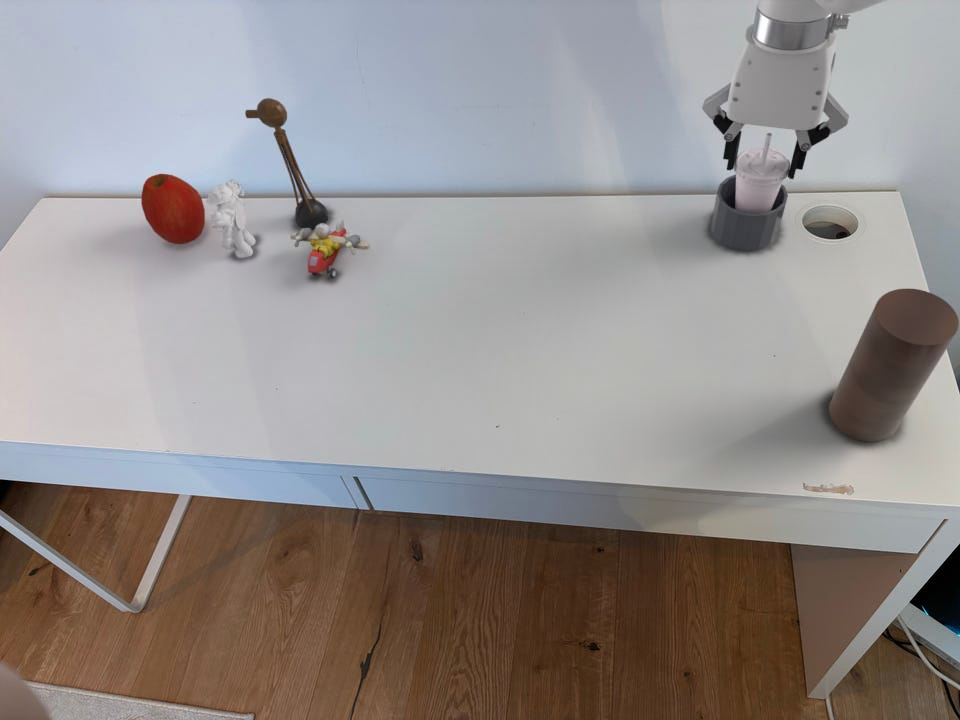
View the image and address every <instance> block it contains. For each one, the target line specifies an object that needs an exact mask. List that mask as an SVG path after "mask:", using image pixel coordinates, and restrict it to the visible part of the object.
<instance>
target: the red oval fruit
mask: <svg viewBox="0 0 960 720" xmlns="http://www.w3.org/2000/svg"><path fill="white" fill-rule="evenodd" d="M140 201H141V208H142V211H143V214H144V217H145V220H146V222H147V224H149V226H150V227H151V229H152V230H153V232H154V233H155V234H156V235H157V236H159V237H160V239H161V238H162V239H163V240H164V241H166V242H167V243H171V244H174V245H184V244H188V243H191V242H193V241H195V240H196V239H198V238H199V237H200V236H201V235H202V233H203V231H204V228H205V223H206V218H205V217H206V211H205V210H206V209H205V205H204V202H203V199H202V195H200V193H199V191H198V189H196V188H195V187H194V186H192V185H191V184H190V183H189V182H187V181H185V180H184V179H182V178H180V177H178V176H176V175H173V174H169V173H158V174H154V175H151V176H149V177H148V178H146V180H145V181H144V183H143V186H142V190H141V200H140Z"/></svg>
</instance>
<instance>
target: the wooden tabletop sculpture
mask: <svg viewBox="0 0 960 720" xmlns="http://www.w3.org/2000/svg"><path fill="white" fill-rule="evenodd" d="M244 114H245V117H246V119H259V121H260V122H261V123H262V124H264V125H265V126H266V127H268V128H272V129H273V128H274V130H275V131H273V136H274V138H275V141H276V143H277V146H278V149H279V151H280V153H281V156H282V159H283V162H284V165H285V167H286V170H287V172H288V175H289V176H288V177H289V178H290V182H291V185H292V188H293V192H294V196H295V197H294V198H295V202H296V207H295V211H294V213H295V215H294V218H295V223H296V226H297V227H299V228H300V230H301V229H302V228H310V229H311V231H315V227H316V226H317V225H318V224H321V223H323V224H326V223H327V222H328V221H329V212H328V210H327V208H326V206H325V205H324V204H323V203H322V202H320V201H319V200H318V199H316V197H315V196H314V195H313V193H312V191H311V190H310V187H309V185H308V184H307V182H306V180H305V178H304V176H303V174H302V172H301V169H300V166H299V164H298V162H297V159H296V157H295V154H294V152H293V149H292V147H291V144H290V141H289V139H288V136H287V133H286V130H285V129H284V128H282V127H283V126H284V125H285V124H286V122H287V120H288V111H287V109H286V107H285V106H284V105H283V104H282V103H281V102H280V100H277V99H275V98H272V97H266V98H263V99H262V100H260V101H259V102H258V104H257V106H256V109H246V110H245V112H244ZM304 187H305V188H304ZM305 189H306V190H305ZM297 190H298V191H297ZM306 191H307V192H308V194H309V196H310V197H311V198H309V197H308V195H307V193H306ZM298 193H299V195H300V198H301V200H300V201H299V196H298Z"/></svg>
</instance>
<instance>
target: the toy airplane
mask: <svg viewBox="0 0 960 720" xmlns="http://www.w3.org/2000/svg"><path fill="white" fill-rule="evenodd" d="M344 220H345V219H343V218H339V219H338V220H337V222H336V226H335V230H331V229H330V226H329V225H328V224H326V223H325V224H323V223H321V224H318V225H317V226H316V227H315V230H314V233H312V230H311V229H310V228H302V229H301V228H300V230H298V231H296V232H293V233H290V234H289V236H290V239H291V240H293V241H295V242H294V247H295V248H298V247H299V245H300V242H307V243H309V244H310V246H311V247H312V249H311V251H310V253H309V256H308V263H307V271H308V273H310V274H312V275H313V276H318V274H320V275H326V276H329V278H331V279H334V278H336V276H337V269H336V268H335V267H331V266H332V265H333V264H334V263H335V261H336V259H337V256H338V254H339V253H340V250H341V248H348V249H349V250H350V253H351V255H352V256H355V255H356V250H355V249H357V250H364V251H365V250H369V249H370V248H371V244H370V243H371V242H369V241H366V240H361V236H360V235H359V234H357V233H351V232H347V229H346V228H345V221H344Z"/></svg>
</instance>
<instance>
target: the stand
mask: <svg viewBox="0 0 960 720" xmlns="http://www.w3.org/2000/svg"><path fill="white" fill-rule="evenodd" d="M875 303H876V304H875V306H874V308H873V310H872V312H871V314H870V316H869V318H868V320H867V323H866V324H865V327H864V329H863V331H862V333H861V335H860V337H859V340H858V341H857V344H856V346H855V348H854V350H853V352H852V355H851V357H850V359H849V361H848V363H847V365H846V368H845V369H844V372H843V374H842V376H841V378H840V381H839V383H838V385H837V387H836V389H835V391H834V393H833V396H832V398H831V400H830V402H829V406H828V415H829V418H830V419H831V421H832V423H833V425H834V426H835V427H836V428H837V429H838V430H839V431H840V432H842V433H843V434H845V435H846V436H848V437H849V438H852V439H855V440H858V441H861V442H868V443H876V442H881V441H884V440H886V439H888V438H890V437H891V436H893V435H894V433H895V432H896V431H897V430H898V427H899V426H900V424H901V423H902V421H903V419H904V418H905V416H906V415H907V413H908V412H909V410H910V409H911V406H912V405H913V404H914V402H915V401H916V399H917V398H918V395H919V394H920V393H921V391H922V389H923V388H924V386H925V384H927V383H926V382H927V381H928V380H929V378H930V376H931V374H932V373H933V372H934V370H935V368H936V367H937V365H938V363H940V360H941V359H942V357H943V355H944V354H945V352H946V351H947V350H948V348H949V346H950V344H952V343H951V342H952V341H953V339H954V338H955V336H956V335H957V333H958V331H959V327H960V320H959V316H958V314H957V312H956V311H955V308H953V306H952V305H950V304H949V303H948V302H947V301H946V300H944V299H943V298H942V297H940V296H938V295H936V294H934V293H933V292H929V291H927V290H923V289H917V288H909V287H907V288H897V289H893V290H889V291H888V292H886V293H884V294H883V295H881V297H879V298H878V300H877V301H876V302H875Z"/></svg>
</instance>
